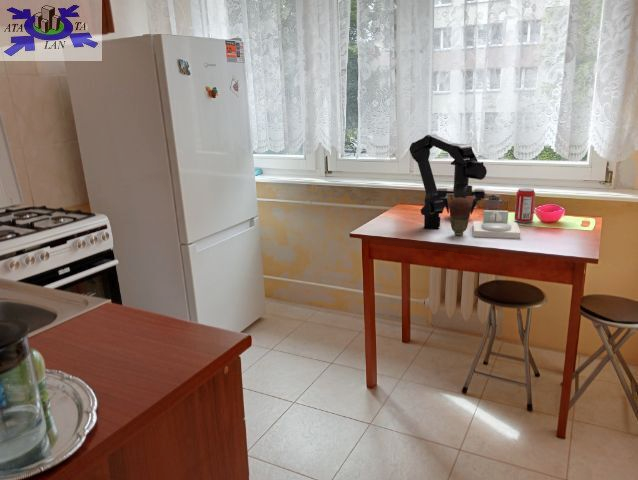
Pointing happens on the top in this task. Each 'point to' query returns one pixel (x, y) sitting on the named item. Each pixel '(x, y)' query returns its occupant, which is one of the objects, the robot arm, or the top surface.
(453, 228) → the ornate brown lamp shade
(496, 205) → the lighter
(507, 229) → the scale
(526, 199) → the soda can
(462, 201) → the muffin
